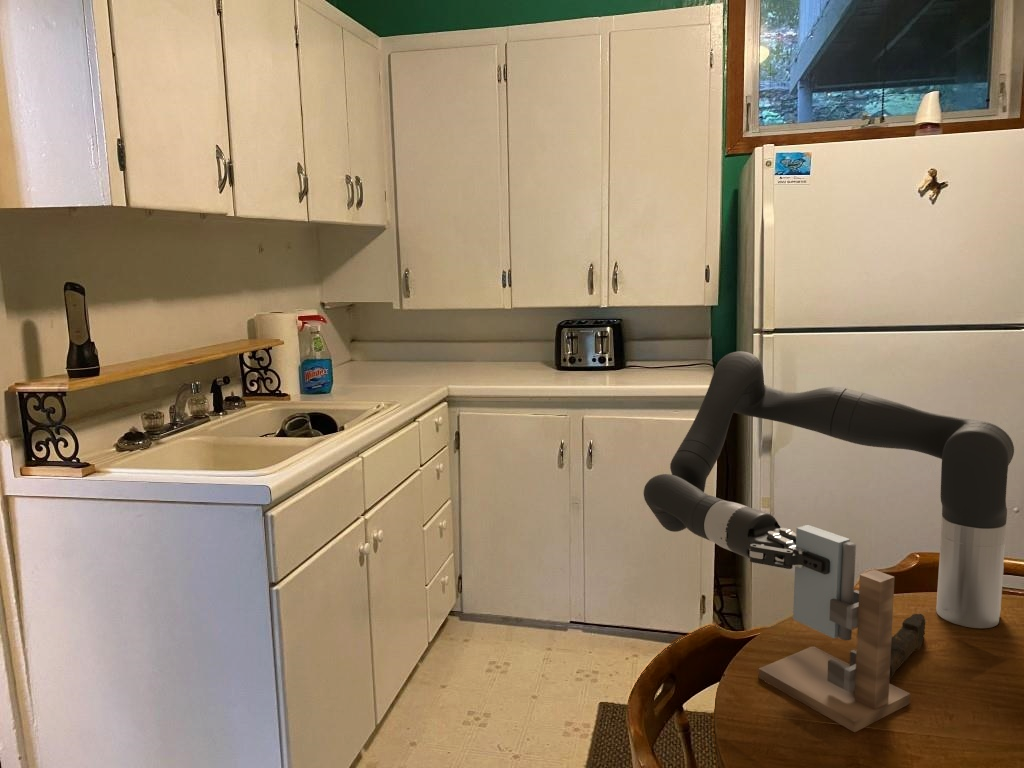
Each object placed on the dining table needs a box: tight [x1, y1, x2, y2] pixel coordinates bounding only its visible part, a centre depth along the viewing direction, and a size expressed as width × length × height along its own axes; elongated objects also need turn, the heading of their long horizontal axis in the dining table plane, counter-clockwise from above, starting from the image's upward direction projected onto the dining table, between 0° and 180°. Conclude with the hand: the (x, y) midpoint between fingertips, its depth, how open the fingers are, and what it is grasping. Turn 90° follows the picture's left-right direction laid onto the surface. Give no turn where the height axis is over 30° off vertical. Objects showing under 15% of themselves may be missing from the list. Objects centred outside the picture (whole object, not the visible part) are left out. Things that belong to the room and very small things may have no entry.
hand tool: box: [889, 613, 926, 682], centre depth 118 cm, size 19×4×5 cm, turn 132°
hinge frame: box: [758, 569, 911, 733], centre depth 109 cm, size 12×16×20 cm
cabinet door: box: [792, 524, 857, 641], centre depth 108 cm, size 2×9×14 cm, turn 30°
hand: (834, 565), depth 107 cm, fingers closed on cabinet door, 2 cm apart
